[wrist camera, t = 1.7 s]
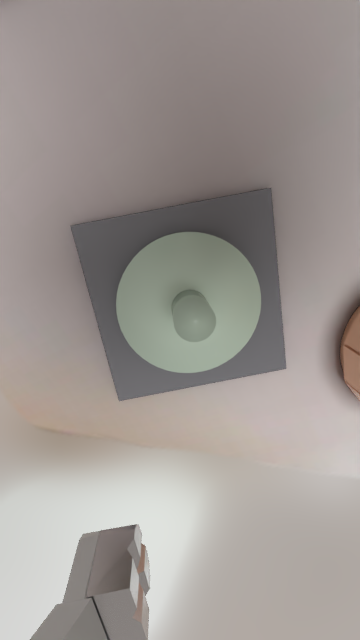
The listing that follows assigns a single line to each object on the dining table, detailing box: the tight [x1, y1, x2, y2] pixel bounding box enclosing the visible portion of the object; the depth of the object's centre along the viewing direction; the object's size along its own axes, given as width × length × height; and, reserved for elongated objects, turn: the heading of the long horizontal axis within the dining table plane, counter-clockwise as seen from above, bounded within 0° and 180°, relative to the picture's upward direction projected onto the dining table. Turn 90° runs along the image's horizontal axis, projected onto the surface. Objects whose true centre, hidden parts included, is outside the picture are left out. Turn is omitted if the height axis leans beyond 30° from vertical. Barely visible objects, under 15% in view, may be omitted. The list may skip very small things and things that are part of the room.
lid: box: [116, 232, 261, 373], centre depth 24 cm, size 12×12×5 cm
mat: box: [71, 188, 286, 401], centre depth 27 cm, size 16×16×1 cm
